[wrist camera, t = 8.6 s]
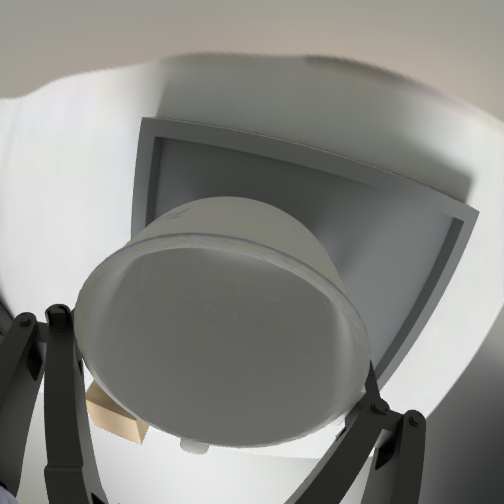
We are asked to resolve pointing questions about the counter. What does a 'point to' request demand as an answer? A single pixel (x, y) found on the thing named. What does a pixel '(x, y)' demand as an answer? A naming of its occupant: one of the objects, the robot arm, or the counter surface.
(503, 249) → the counter surface
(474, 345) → the counter surface
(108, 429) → the oak block
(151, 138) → the tray
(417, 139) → the counter surface
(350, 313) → the teacup
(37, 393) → the robot arm
